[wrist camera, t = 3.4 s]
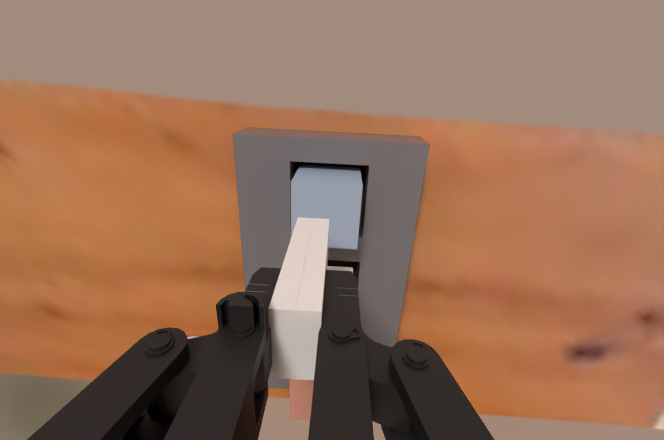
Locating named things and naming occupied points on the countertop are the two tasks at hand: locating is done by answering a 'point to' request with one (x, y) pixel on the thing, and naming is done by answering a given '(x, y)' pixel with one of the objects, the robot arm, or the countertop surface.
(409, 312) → the countertop surface
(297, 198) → the slate key
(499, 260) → the countertop surface
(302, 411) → the terracotta key
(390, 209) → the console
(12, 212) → the countertop surface
